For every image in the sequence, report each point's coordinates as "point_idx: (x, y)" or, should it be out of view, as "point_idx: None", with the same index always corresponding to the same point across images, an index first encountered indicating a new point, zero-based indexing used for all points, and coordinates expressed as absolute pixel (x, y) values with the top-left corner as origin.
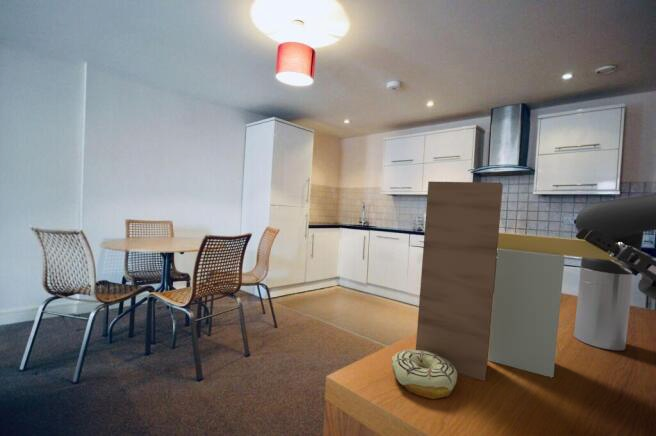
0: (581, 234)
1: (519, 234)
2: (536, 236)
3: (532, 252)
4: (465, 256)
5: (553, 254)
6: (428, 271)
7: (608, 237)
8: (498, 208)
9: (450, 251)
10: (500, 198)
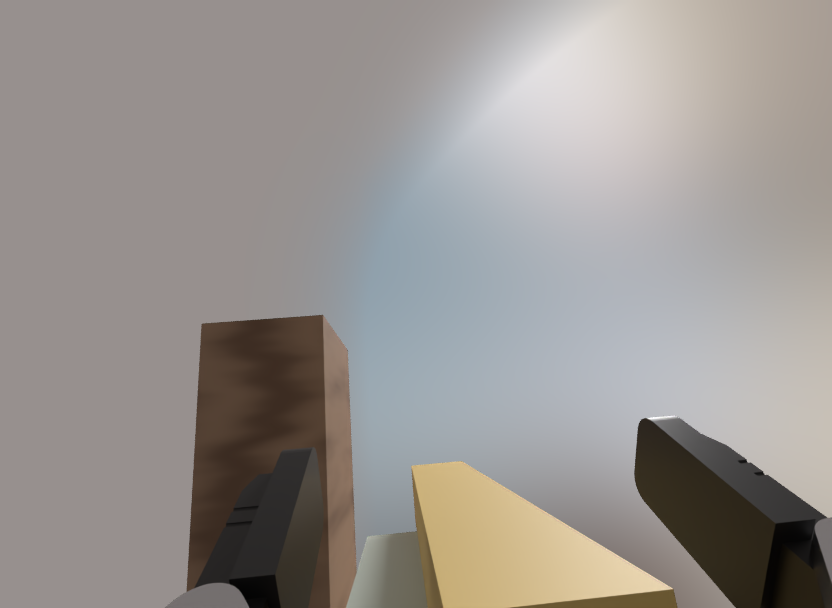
0: (651, 468)
1: (445, 474)
2: (416, 486)
3: (382, 571)
4: None
5: (397, 603)
6: None
7: (257, 516)
8: (199, 399)
9: None
10: (199, 369)
